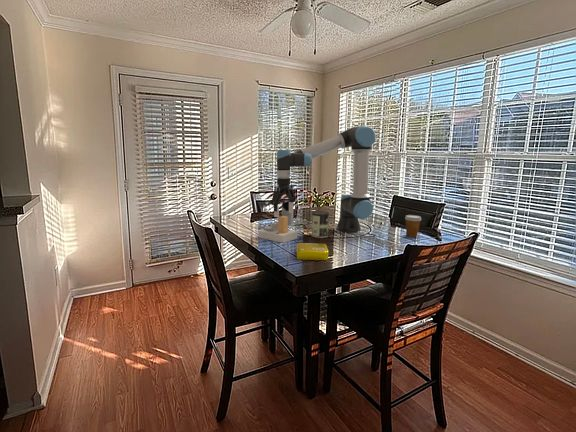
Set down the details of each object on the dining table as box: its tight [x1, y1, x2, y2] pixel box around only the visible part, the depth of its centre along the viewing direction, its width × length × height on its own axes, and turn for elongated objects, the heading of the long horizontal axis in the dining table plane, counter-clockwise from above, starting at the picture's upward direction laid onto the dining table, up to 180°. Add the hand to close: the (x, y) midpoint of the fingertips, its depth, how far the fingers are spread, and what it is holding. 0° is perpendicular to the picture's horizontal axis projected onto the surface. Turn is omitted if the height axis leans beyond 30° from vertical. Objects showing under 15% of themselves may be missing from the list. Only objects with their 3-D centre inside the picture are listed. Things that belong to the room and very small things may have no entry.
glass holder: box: [281, 201, 302, 227], centre depth 233 cm, size 9×14×15 cm, turn 107°
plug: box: [277, 215, 289, 234], centre depth 196 cm, size 4×4×13 cm
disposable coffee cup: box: [404, 214, 422, 238], centre depth 209 cm, size 10×10×12 cm
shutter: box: [263, 222, 278, 231], centre depth 201 cm, size 7×7×4 cm
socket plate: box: [258, 228, 299, 244], centre depth 199 cm, size 18×14×4 cm
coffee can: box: [310, 210, 330, 239], centre depth 204 cm, size 10×10×14 cm
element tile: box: [296, 242, 329, 261], centre depth 168 cm, size 15×15×5 cm
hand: (284, 215), depth 195 cm, fingers open, 13 cm apart
